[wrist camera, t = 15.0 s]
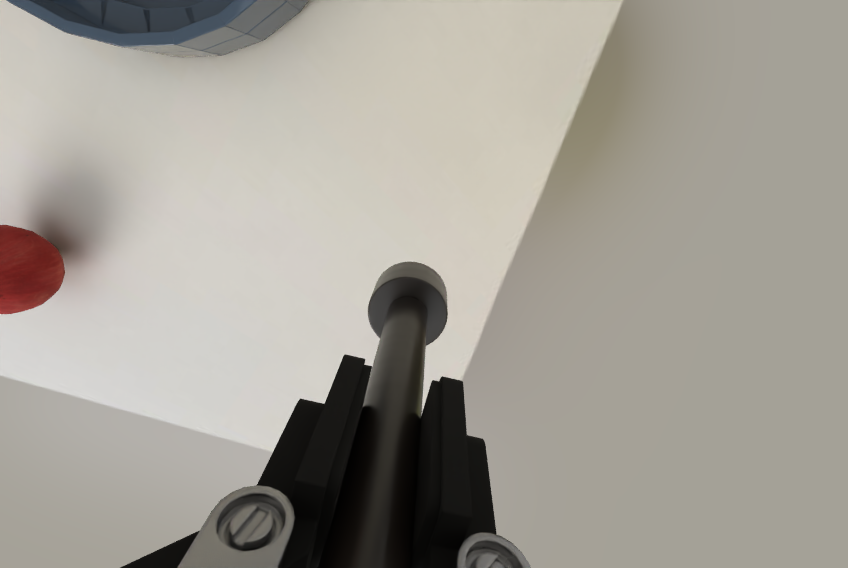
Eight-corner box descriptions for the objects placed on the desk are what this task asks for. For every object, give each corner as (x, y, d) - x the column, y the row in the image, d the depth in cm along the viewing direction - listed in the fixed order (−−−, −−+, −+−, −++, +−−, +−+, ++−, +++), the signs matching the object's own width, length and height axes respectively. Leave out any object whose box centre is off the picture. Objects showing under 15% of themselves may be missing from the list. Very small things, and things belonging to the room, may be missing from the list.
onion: (62, 301, 34) (-45, 356, 26) (-2, 244, 32) (-136, 285, 25) (108, 260, 32) (7, 306, 25) (43, 198, 30) (-86, 227, 23)
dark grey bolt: (455, 271, 19) (492, 632, 5) (436, 335, 20) (430, 761, 7) (382, 253, 18) (242, 582, 5) (368, 319, 19) (223, 724, 6)
